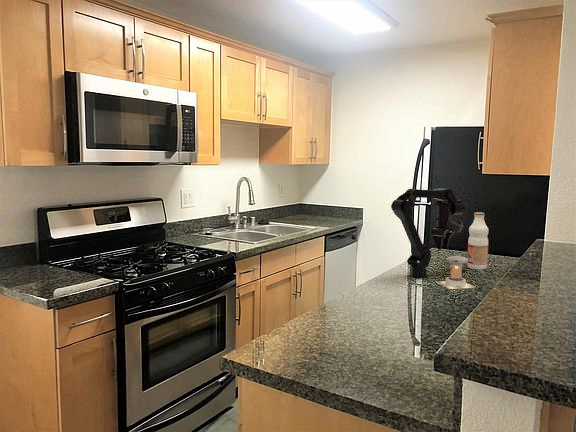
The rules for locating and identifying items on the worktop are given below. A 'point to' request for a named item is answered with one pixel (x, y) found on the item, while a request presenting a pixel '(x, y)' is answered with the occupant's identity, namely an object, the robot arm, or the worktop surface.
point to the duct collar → (455, 282)
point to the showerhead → (457, 260)
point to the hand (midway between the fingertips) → (442, 248)
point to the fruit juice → (478, 243)
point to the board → (455, 287)
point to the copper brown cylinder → (455, 272)
